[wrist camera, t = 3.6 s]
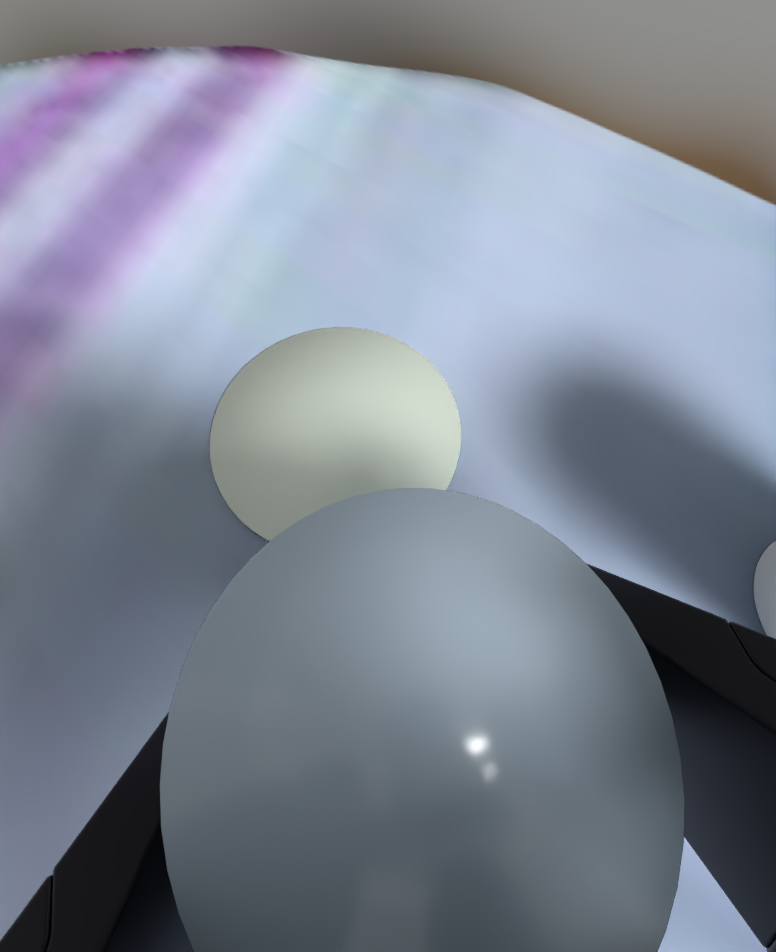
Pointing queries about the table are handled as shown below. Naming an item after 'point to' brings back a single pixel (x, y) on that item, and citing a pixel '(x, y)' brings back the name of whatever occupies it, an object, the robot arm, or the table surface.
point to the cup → (766, 590)
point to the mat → (330, 426)
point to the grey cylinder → (420, 745)
